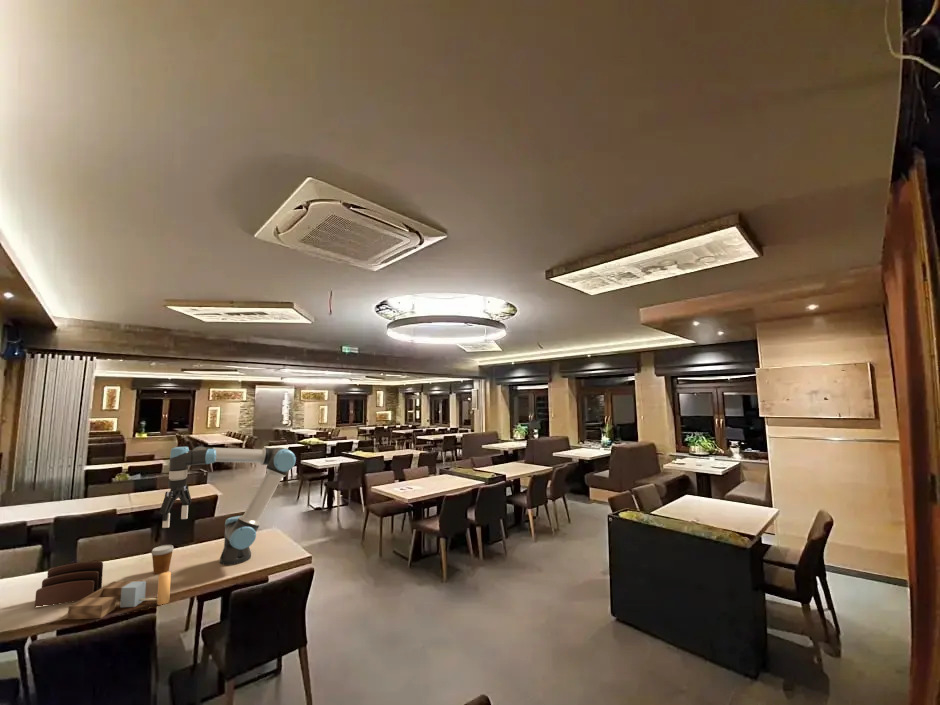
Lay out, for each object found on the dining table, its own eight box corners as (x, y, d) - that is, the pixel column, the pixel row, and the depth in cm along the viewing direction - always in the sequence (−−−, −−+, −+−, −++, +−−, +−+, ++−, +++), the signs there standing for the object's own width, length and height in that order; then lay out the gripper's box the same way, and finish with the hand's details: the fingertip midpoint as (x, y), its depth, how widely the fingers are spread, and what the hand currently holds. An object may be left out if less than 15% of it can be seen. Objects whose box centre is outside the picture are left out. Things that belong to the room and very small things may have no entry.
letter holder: (46, 598, 185) (49, 566, 186) (101, 589, 193) (104, 558, 194) (33, 609, 176) (36, 574, 177) (92, 599, 184) (95, 566, 185)
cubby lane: (142, 591, 190) (142, 580, 190) (101, 618, 167) (102, 605, 168) (112, 592, 189) (113, 581, 190) (67, 619, 167) (68, 606, 167)
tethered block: (172, 598, 183) (174, 570, 184) (163, 605, 177) (165, 576, 178) (131, 600, 182) (132, 572, 183) (120, 607, 176) (122, 578, 177)
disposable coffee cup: (160, 576, 206) (161, 551, 207) (144, 575, 207) (146, 550, 209) (177, 568, 215) (178, 545, 216) (162, 567, 217) (163, 544, 218)
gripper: (186, 474, 214) (183, 515, 212) (151, 484, 189) (148, 531, 187) (200, 473, 215) (198, 515, 213) (168, 484, 190) (165, 531, 188)
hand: (175, 523), depth 200 cm, fingers open, 13 cm apart
